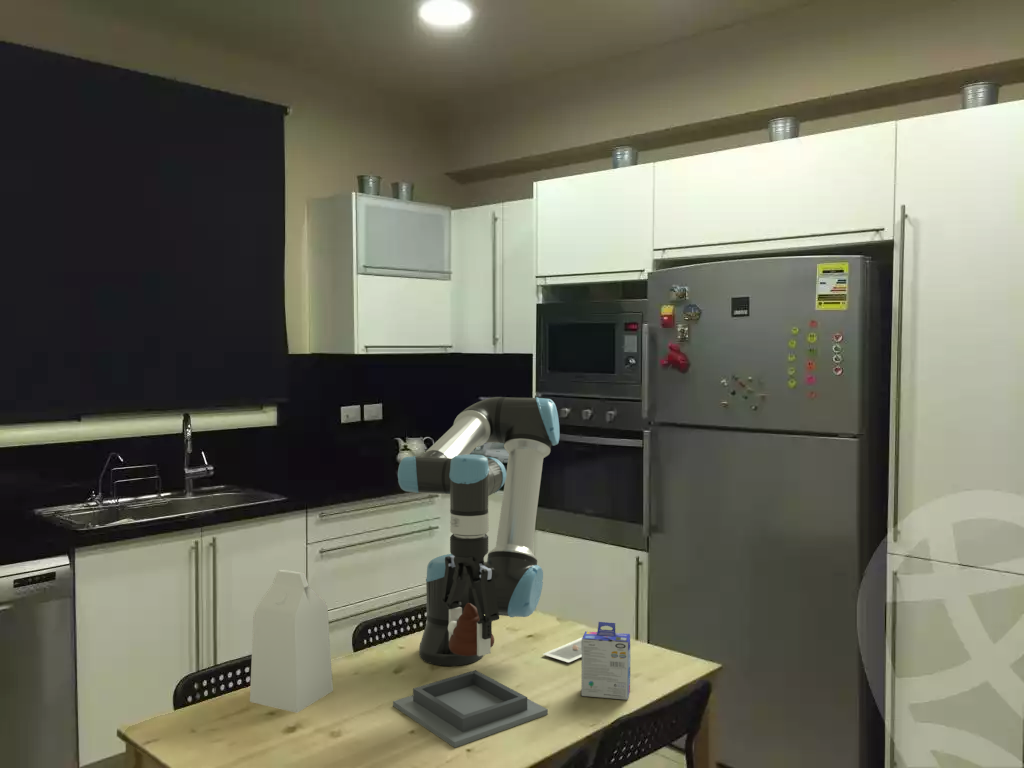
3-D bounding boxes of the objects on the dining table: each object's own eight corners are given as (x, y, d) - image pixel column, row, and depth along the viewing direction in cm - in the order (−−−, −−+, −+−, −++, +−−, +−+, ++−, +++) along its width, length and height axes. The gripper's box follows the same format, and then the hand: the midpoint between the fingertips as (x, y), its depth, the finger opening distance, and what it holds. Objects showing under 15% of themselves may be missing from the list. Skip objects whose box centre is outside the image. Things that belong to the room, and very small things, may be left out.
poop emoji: (474, 660, 158) (473, 612, 157) (438, 652, 162) (438, 604, 162) (502, 645, 166) (502, 598, 166) (468, 637, 171) (468, 592, 170)
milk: (332, 690, 174) (331, 568, 173) (296, 712, 164) (295, 582, 162) (287, 681, 179) (286, 561, 178) (249, 701, 169) (248, 575, 167)
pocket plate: (393, 706, 167) (392, 688, 166) (481, 678, 180) (481, 663, 180) (454, 747, 149) (454, 728, 149) (547, 714, 163) (547, 696, 163)
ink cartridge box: (630, 690, 175) (631, 622, 174) (629, 701, 169) (629, 631, 168) (583, 686, 177) (584, 619, 176) (580, 697, 171) (581, 627, 170)
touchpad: (542, 658, 193) (542, 649, 193) (581, 641, 204) (581, 633, 204) (568, 667, 188) (568, 657, 188) (607, 649, 199) (607, 640, 199)
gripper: (423, 527, 169) (423, 636, 170) (486, 547, 152) (486, 668, 153) (453, 522, 174) (454, 628, 175) (518, 541, 157) (518, 658, 158)
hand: (469, 647), depth 164 cm, fingers closed on poop emoji, 9 cm apart
